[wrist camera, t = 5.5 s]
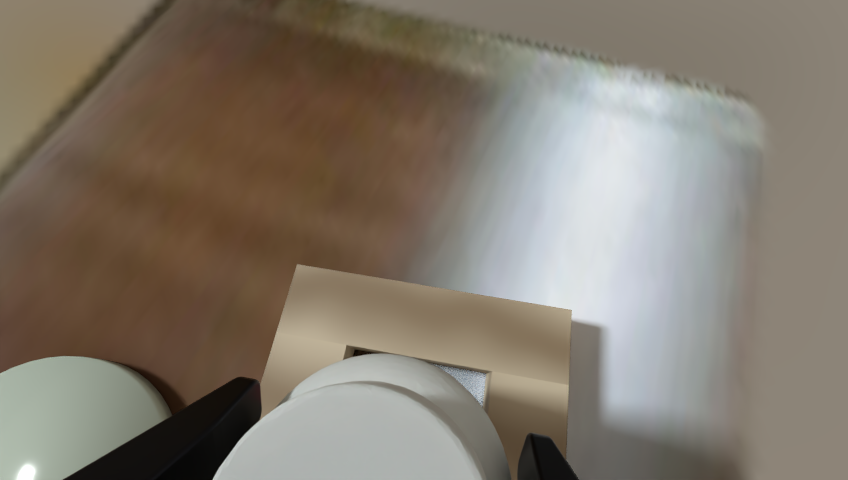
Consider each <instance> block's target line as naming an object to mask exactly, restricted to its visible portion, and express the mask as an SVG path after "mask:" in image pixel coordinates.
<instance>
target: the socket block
mask: <svg viewBox="0 0 848 480" xmlns="http://www.w3.org/2000/svg"><path fill="white" fill-rule="evenodd" d="M571 315H572V310H568V309H562V308H556V307H550V306H544V305H538V304H532V303H526V302H520V301H514V300H508V299H502V298H496V297H490V296H484V295H478V294H472V293H466V292H460V291H454V290H448V289H442V288H436V287H430V286H424V285H418V284H412V283H406V282H400V281H394V280H388V279H382V278H376V277H370V276H364V275H358V274H352V273H346V272H340V271H334V270H328V269H322V268H316V267H310V266H304V265H298V264H297V267H296V270H295V273H294V277H293V280H292V283H291V287H290V290H289V293H288V296H287V300H286V303H285V306H284V310H283V313H282V316H281V319H280V323H279V326H278V329H277V332H276V336H275V339H274V342H273V346H272V349H271V352H270V355H269V359H268V362H267V365H266V368H265V372H264V375H263V378H262V382H261V385H260V388H261V403H262V413H261V417H260V420H261V419H262V418H263V417H264V416H266V415H267V414H268V413H270V412H271V411H272V410H274V409H275V408H276V406H277V405H278V404H279V403H280V402H281V401H282V400H283V399H284V397H285V396H286V395H287V394H288V393H289V392H291V391H292V390H293V389H294V388H295V387H296V386H297V385H299V384H300V383H301V382H302V381H304V380H305V379H306V378H308V377H309V376H311V375H312V374H314V373H316V372H317V371H319V370H321V369H322V368H324V367H327V366H329V365H331V364H333V363H336V362H338V361H341V360H344V359H348V358H351V357H353V354H354V350H360V351H366V352H371V353H377V354H395V355H403V356H409V357H414V358H416V359H419V360H422V361H425V362H427V363H432V364H437V365H443V366H448V367H454V368H459V369H465V370H471V371H476V372H482V373H486V381H485V390H484V399H483V409H484V411H485V412H486V414H487V415H488V417H489V418H490V420H491V422H492V423H493V425H494V427H495V429H496V431H497V434H498V436H499V438H500V441H501V443H502V445H503V448H504V452H505V455H506V458H507V461H508V465H509V469H510V473H511V479H512V480H517V470H518V462H519V458H520V455H521V452H522V448H523V445H524V442H525V439H526V436H527V435H528V433H531V432H532V433H537V434H543V435H547V436H549V437H550V438H551V439H552V440H553V441H554V443H555V444H556V446H557V447H558V449H559V450H560V452H561V453H562V455H563V456H564V458H565V459H566V445H567V419H568V393H569V367H570V341H571ZM260 420H259V421H260Z"/></svg>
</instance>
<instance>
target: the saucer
mask: <svg viewBox="0 0 848 480" xmlns="http://www.w3.org/2000/svg"><path fill="white" fill-rule="evenodd" d="M170 416H172V414H171V411H170V409H169V407H168V405H167V403H166V402H165V400H164V399H163V397H162V395H161V394H160V393H159V392H158V390H157V389H156V388H155V387H154V386H153V385H152V384H151V382H149V381H148V380H147V379H146V378H144V377H143V376H142V375H141V374H139V373H138V372H136V371H134V370H132V369H131V368H129V367H127V366H124V365H122V364H119V363H116V362H113V361H108V360H103V359H98V358H88V357H73V356H61V357H51V358H45V359H40V360H36V361H31V362H28V363H25V364H22V365H19V366H16V367H13V368H11V369H9V370H7V371H5V372H2V373H0V480H63V479H65V478H66V477H68V476H70V475H71V474H73V473H75V472H77V471H78V470H80V469H82V468H83V467H85V466H87V465H88V464H90V463H92V462H94V461H95V460H97V459H99V458H100V457H102V456H104V455H105V454H107V453H109V452H111V451H112V450H114V449H116V448H117V447H119V446H121V445H122V444H124V443H126V442H128V441H129V440H131V439H133V438H134V437H136V436H138V435H140V434H141V433H143V432H145V431H146V430H148V429H150V428H151V427H153V426H155V425H157V424H158V423H160V422H162V421H163V420H165V419H167V418H168V417H170Z"/></svg>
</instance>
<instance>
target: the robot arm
mask: <svg viewBox="0 0 848 480" xmlns="http://www.w3.org/2000/svg"><path fill="white" fill-rule="evenodd" d="M261 413H262V403H261V388H260V383H259V381H258V380H256V379H251V378H246V377H237V378H235V379H233V380H231V381H230V382H228V383H226V384H225V385H223V386H221V387H220V388H218V389H216V390H214V391H213V392H211V393H209V394H208V395H206V396H204V397H202V398H201V399H199V400H197V401H196V402H194V403H192V404H191V405H189V406H187V407H185V408H184V409H182V410H180V411H179V412H177V413H175V414H174V415H172V416H170V417H168V418H167V419H165V420H163V421H162V422H160V423H158V424H157V425H155V426H153V427H151V428H150V429H148V430H146V431H145V432H143V433H141V434H140V435H138V436H136V437H134V438H133V439H131V440H129V441H128V442H126V443H124V444H122V445H121V446H119V447H117V448H116V449H114V450H112V451H111V452H109V453H107V454H105V455H104V456H102V457H100V458H99V459H97V460H95V461H94V462H92V463H90V464H88V465H87V466H85V467H83V468H82V469H80V470H78V471H77V472H75V473H73V474H71V475H70V476H68V477H66V478H65V479H63V480H213V478H214V476H215V474H216V472H217V471H218V469H219V467H220V466H221V464H222V463H223V462H224V460H225V459H226V458H227V456H228V455H229V454H230V452H231V451H232V450H233V448H234V447H235V446H236V444H237V443H238V441H239V440H240V439H241V438H242V437H243V436H244V435H245V434H246V432H247V431H249V430H250V429H251V428H252V427H253V426H254V425H255V424H256V423H257V422H258V421H259V420H260V417H261ZM517 480H579V479H578V477H577V476H576V474H575V473H574V471H573V470H572V468H571V467H570V465H569V464H568V462H567V461H566V459H565V458H564V456H563V455H562V453H561V452H560V450H559V449H558V447H557V446H556V444H555V443H554V441H553V440H552V439H551V438H550V437H549V436H547V435H543V434H537V433H532V432H531V433H528V435H527V436H526V439H525V442H524V445H523V448H522V452H521V455H520V458H519V462H518V470H517Z"/></svg>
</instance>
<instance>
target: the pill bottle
mask: <svg viewBox="0 0 848 480" xmlns="http://www.w3.org/2000/svg"><path fill="white" fill-rule="evenodd" d="M213 480H512V479H511V473H510V469H509V465H508V461H507V458H506V455H505V452H504V448H503V445H502V443H501V441H500V438H499V436H498V434H497V431H496V429H495V427H494V425H493V423H492V422H491V420H490V418H489V417H488V415H487V414H486V412H485V411H484V409H483V408H482V406H481V405H480V404H479V402H478V401H477V400H476V399H475V398H474V397H473V395H472V394H471V393H470V392H469V391H468V390H467V389H466V388H465V387H464V386H463V385H461V384H460V383H459V382H458V381H457V380H456V379H455V378H454V377H453V376H451V375H450V374H448V373H447V372H445V371H443V370H442V369H440V368H439V367H436V366H434V365H432V364H430V363H427V362H425V361H422V360H419V359H416V358H414V357H409V356H403V355H395V354H367V355H361V356H355V357H351V358H348V359H344V360H341V361H338V362H336V363H333V364H331V365H329V366H327V367H324V368H322V369H321V370H319V371H317V372H316V373H314V374H312V375H311V376H309V377H308V378H306V379H305V380H304V381H302V382H301V383H300V384H299V385H297V386H296V387H295V388H294V389H293V390H292V391H291V392H289V393H288V394H287V395H286V396H285V397H284V399H283V400H282V401H281V402H280V403H279V404H278V405H277V406H276V408H275V409H274V410H272V411H271V412H270V413H268V414H267V415H266V416H264V417H263V418H262V419H261V420H260V421H258V422H257V423H256V424H255V425H254V426H253V427H252V428H251V429H250V430H249V431H247V432H246V434H245V435H244V436H243V437H242V438H241V439H240V440H239V441H238V443H237V444H236V446H235V447H234V448H233V450H232V451H231V452H230V454H229V455H228V456H227V458H226V459H225V460H224V462H223V463H222V464H221V466H220V467H219V469H218V471H217V472H216V474H215V476H214V478H213Z"/></svg>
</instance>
